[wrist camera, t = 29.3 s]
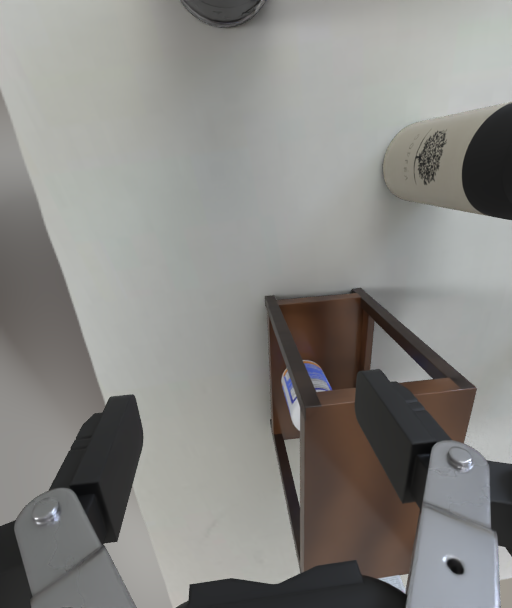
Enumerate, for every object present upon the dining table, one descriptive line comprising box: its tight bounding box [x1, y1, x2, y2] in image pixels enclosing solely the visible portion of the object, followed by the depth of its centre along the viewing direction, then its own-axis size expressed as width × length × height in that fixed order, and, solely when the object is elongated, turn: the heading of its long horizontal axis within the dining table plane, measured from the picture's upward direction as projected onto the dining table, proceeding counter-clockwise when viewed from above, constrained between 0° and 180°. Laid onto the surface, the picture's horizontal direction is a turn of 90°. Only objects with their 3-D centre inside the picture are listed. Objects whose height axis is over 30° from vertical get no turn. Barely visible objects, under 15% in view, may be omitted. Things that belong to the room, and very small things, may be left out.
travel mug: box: [383, 102, 512, 220], centre depth 29 cm, size 8×8×18 cm
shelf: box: [265, 288, 477, 578], centre depth 36 cm, size 12×20×20 cm, turn 3°
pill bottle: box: [281, 360, 332, 431], centre depth 38 cm, size 5×5×10 cm
